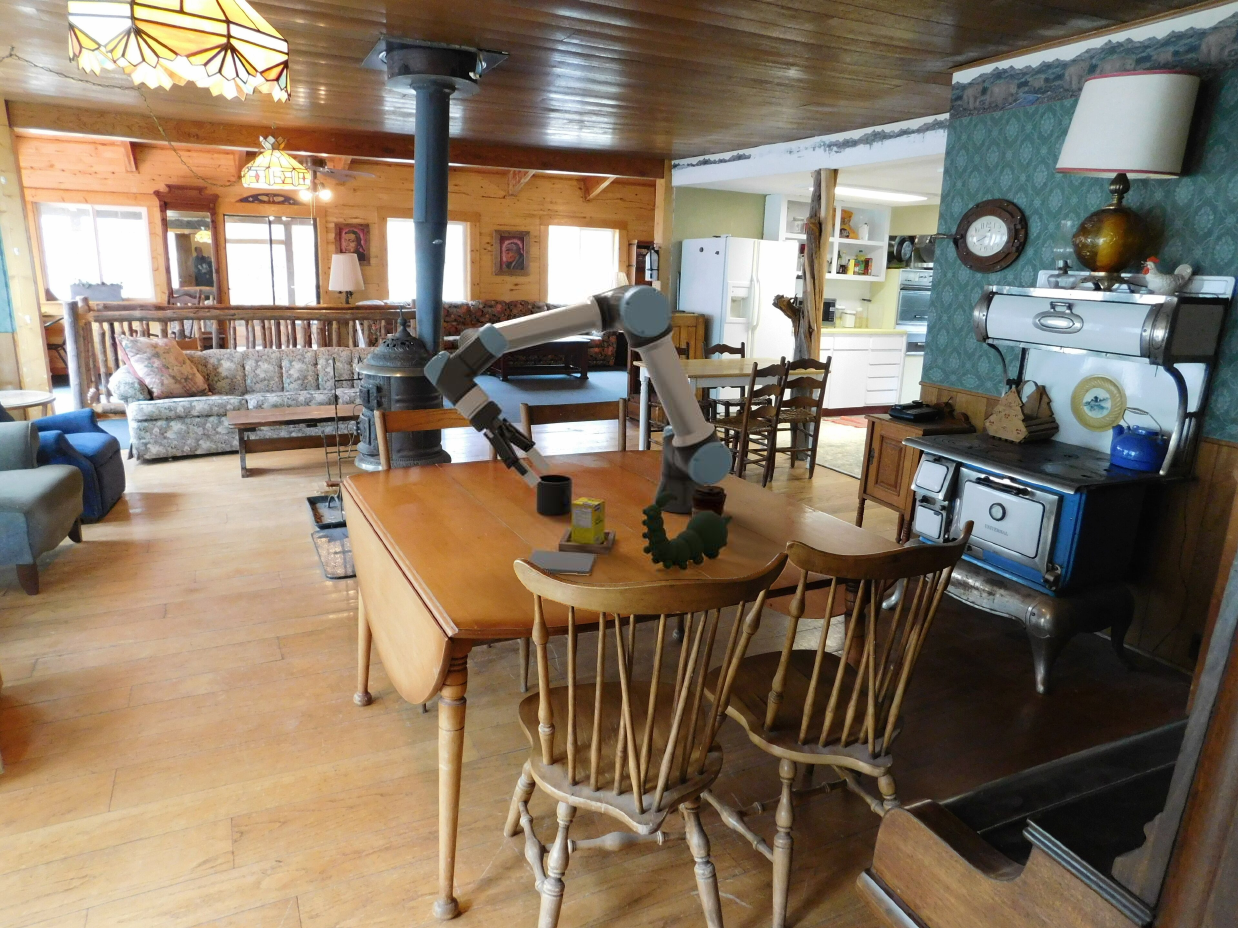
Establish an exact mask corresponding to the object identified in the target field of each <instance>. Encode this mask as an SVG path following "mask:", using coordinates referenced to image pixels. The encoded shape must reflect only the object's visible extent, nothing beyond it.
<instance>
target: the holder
mask: <svg viewBox="0 0 1238 928" xmlns="http://www.w3.org/2000/svg"><path fill="white" fill-rule="evenodd" d="M571 533H572V527H567V528H566V530H565V531H564V533H563V535H562V537H561V539H560V541H559V542H558V552H573V553H589V554H596V555H599V556H601V555H604V556H611V552H612V549H613V547H614V544H615V541H616V530H610V529H609V530H607V529H606V530H605V529H604V541H606V542H605V544H602V545H600V544H584V543H571V542H570V541H571V535H572V534H571Z"/></svg>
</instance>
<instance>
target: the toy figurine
mask: <svg viewBox="0 0 1238 928" xmlns="http://www.w3.org/2000/svg"><path fill="white" fill-rule="evenodd" d="M672 499H674V500H676V501H677V500H678V497H677V496H676V494H674V493H673V492H663V493H661V494H660V495H658V496H657V498H656V500H655V503H656V504H654V503H653V504H650V505H648V506H647V507H646V508H643V509H642V514H643V515H644V516H645V517H646V518H644V519H642V521H641V525H642V526H643V527H646V529H647V530H646V531H643V532H642V534H641V537H642V538H643V539H644V540H646V539H647V540H648V545H645V546H643V548H642V549H643V551H642V552H643V553H644V554H646V555H649V554H651V555H650V556H652V557H651V562H652V564H654V565H659V564H660V563H662V566H663V568H664V570H670V569H671V568H672V567H674V566H675V567H678V569H680V570H681V571H685V570H687V569H688V568H689V565H688V564H689V563H688V562H689V561H692V562H693V563H694V565H702V564H703V563H704V561H705V558H707V559H708V558H709V559H710V560H712V559H713V560H714V559H716V558H718V557H719V556H720V550H721V549H722V548H723V547H726V546H727V545H728V536H729V530H728V525H729V523H730V522H731V520H732V519H733V517H732V516H733V515H732V516H731V515H727V516H723V517H720V516H719V515H718V514H716V513H713V512H701V513H698V514H696V515H695V516H693V517H691V518H690V519H689V520H688V522H687V525H686V527H685V530H681V531H680V533H678V534H677V536H676V537H674V538H671V539H669V537H667V531H666V529H665V527H664V526H665V521H664V520H665V519H664V518H663V517H662V514H663V510H661V507H663V506H665V505H666V504H667V503H668V502H669V501H670V500H672ZM709 559H708V560H709Z"/></svg>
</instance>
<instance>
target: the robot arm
mask: <svg viewBox="0 0 1238 928" xmlns="http://www.w3.org/2000/svg"><path fill="white" fill-rule="evenodd" d="M671 319H672V307H671V304H670V301H669V300H668V297H667V296H666V295H665V294H664V293H663V292H662V291H661V290H659V289H657V288H656V287H653V286H651V285H646V284H638V285H636V284H626V285H625V284H624V285H621V286H618V287H615V288H612V289H609V290H607V291H603V292H601V293H598V294H593V295H590V296H588V297H587V299H586V301H582V302H578V303H577V302H576V303H574V304H570V305H567V306H562V307H558V308H557V307H556V308H554V309H550V310H546V311H541V312H538V313H534V314H533V313H532V314H529V315H526V316H521V317H518V318H513V319H509V320H504V321H501V322H497V323H494V324H492V323H490V322H489V323H486V324H485V325H483V326H482V327H471V328H467V329H465V330H464V331H462V332H461V333H460V335H459V337H458V339H457V340H458V342H457V343H458V345H457V346H458V349H457V350H456V351H455V352H453V353H452V354H451V353H449V352H448V351H446V350H442V351H440V352H439V353H438V354H436V355H435V356H434V357H432V359H430V361H428V362H427V364H426V365H425V366H424V368H423V374H424V376H425V377H426V378H427V379H428V380H429V381H430V383H431V384H432V385H433V386H434V388H435V389H436V390H437V391H439V392H440V394H441V395H442V396H443V397H444V398H445V399H446V400H447V401H448V402H449V403H450V405H452V406H453V407H454V408H455V409H456V410H457V411H456V412H457V414H458V415H460V414H461V416H463V417H464V419H465V420H467V419H469V421H468V422H469V424H470V425H471V427H472V428H473V429H475V430H476V432H478V433H481V432H484V433H483V437H485V439H486V440H487V441H488V442H489V443H490V445H491V446H492V448H493V450H494V451H495V453H496V454H497V456H498V457H499V458H500V460H501V462H502V463H503V464H504V466H505V467H506V469H508V470H510V469H513V470H514V471H515V472H516V473H517V474H518V475H519V476H520V477H521V478H522V479H523V481H525V483H527V485H528V486H529V487H530V488H531V489H532V488H534V487H535V486H537V483H538V482H539V481H541V479H540V478H539V477H540V476H538V474H537V473H536V472H534V471H533V470H532V468H531V467H530V466H529V465H528V463H526V462H525V461H524V460H523V459H522V458H520V457H519V456H518V455H517V453H516V451H515V449H514V447H513V445H514V446H515V447H517V448H518V449H520V450H521V451H523V452H524V453H525V454H524V455H525V456H526V457H527V458H528V459H529V460H530V461H531V462H532V463H533V465H534V466H535V467H536V468H537V469H538V470H539V471H540V472H541V473H542V474H543V475H545V474H546V473H547V472H548V471H549V470H550V469H551V468H552V467H553V466H552V464H551V463H550V462H549V461H548V460H547V459H546V458H545V457H544V455H542V453H540V451H538V449H537V448H536V447H535V446H536V445H537V444H536V442H535V440H532V439H531V438H530V437H528V436H527V435H526V434H525V433H524V432H522V431H521V430H520V429H519V428H517V427H516V426H515V425H513V424H512V422H511V421H509V420H508V419H507V418H506V417H503V418H502V419H501V418H500V417H499V416H500V415H501V414H502V413H503V410H502V408H501V407H500V406H499V405H498V404H497V403H496V402H495V401H494V400H490V398H491V396H490V395H489V394H488V393H487V392H486V391H485V390H484V389H483V387H481V386H480V385H479V384H478V383H477V382H476V380H475V379H476V378H478V377H479V376H480V375H481V374H482V372H483V373H484V371H486V369H487V368H488V367H490V366H491V365H492V364H493V363H494V362H495V361H496V360H498V359H499V358H500V357H502V355H503V354H506V353H509V352H515V351H518V350H522V349H525V348H529V347H533V346H537V345H542V344H545V343H549V342H553V341H557V340H562V339H565V338H569V337H573V336H577V335H581V334H586V333H590V332H595V333H597V334H601V333H606V332H614V331H615V332H616V331H620V332H621V331H622V332H623V334H624V336H625V339H626V341H627V343H628V345H629V348H630V350H632V351H635V352H638V353H639V355H640V358H641V360H642V362H643V364H644V367H645V369H646V371H647V374H648V376H649V378H650V381H651V383H652V385H653V386H652V387H653V388H654V391H655V392H656V394H657V397H658V399H659V401H660V404H661V405H662V409H663V410H664V413H665V415H666V418H667V420H668V422H669V425H666V426H664V429H663V434H662V437H661V438H662V446H661V448H662V450H661V452H662V453H661V454H662V455H661V474H660V475H661V477H660V481H659V484H658V485H657V488H656V491H655V494H654V498H653V504H656V503H655V500H656V498H657V496H658V495H660V494H661V493H663V492H673V493H674V494H676V496H677V497H678V500H677V501H676V500H674V499H672V500H670V501H669V502H668V503H667V504H666V505H665V506H663V507H661V511H665V512H672V513H678V514H692V506H693V500H692V492H693V491H694V490H695V487H696V486H707V485H709V486H715V485H717V484H719V483H721V482H722V481H723V480H724V479H725V478H726V477H727V476H728V475H729V473H730V471H731V469H732V466H733V456H732V453H731V451H730V449H729V447H728V446H727V445H726V444H724V443H723V442H722V441H721V439H720V437H719V435H718V432H717V430H716V428H715V425H714V424H713V423H709V422H708V421H706V419H705V417H704V414H703V412H702V410H701V407H700V405H699V402H698V399H697V398H696V395H695V393H694V390H693V388H692V385H691V383H690V381H689V378H688V375H687V373H686V371H685V369H684V366H683V364H682V361H681V359H680V357H679V354H678V351H677V350H676V346H675V345H674V343H673V342H674V341H673V339H672V337H673V334H674V331H675V328H674V326H673V323H672V321H671ZM484 430H485V431H484Z"/></svg>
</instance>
